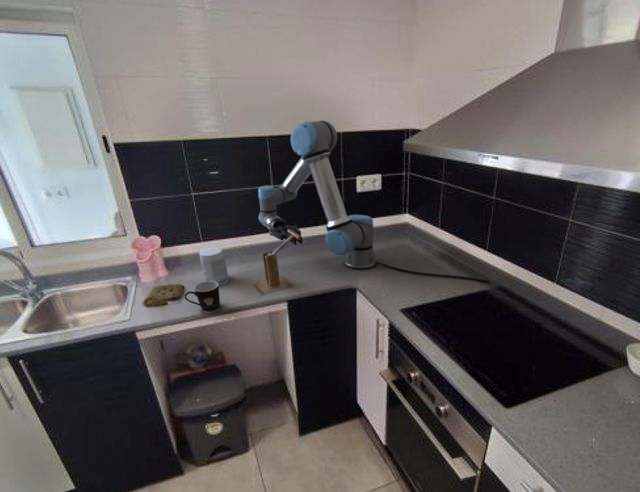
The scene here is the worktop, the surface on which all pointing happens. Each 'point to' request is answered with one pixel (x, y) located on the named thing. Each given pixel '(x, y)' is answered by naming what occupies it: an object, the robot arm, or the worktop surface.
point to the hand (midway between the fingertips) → (298, 241)
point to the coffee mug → (207, 295)
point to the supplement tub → (214, 265)
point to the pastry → (164, 294)
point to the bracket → (271, 274)
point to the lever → (287, 241)
